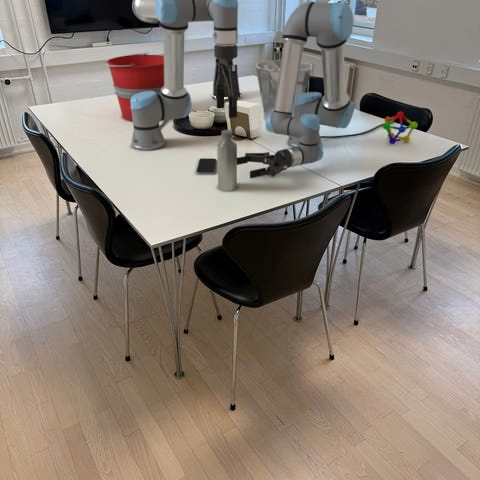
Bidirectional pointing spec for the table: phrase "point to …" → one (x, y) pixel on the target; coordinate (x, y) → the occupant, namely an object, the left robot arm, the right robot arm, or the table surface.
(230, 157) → the bottle
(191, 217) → the table surface
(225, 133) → the cap
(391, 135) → the educational toy
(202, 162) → the smartphone
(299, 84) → the bucket
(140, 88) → the bucket
